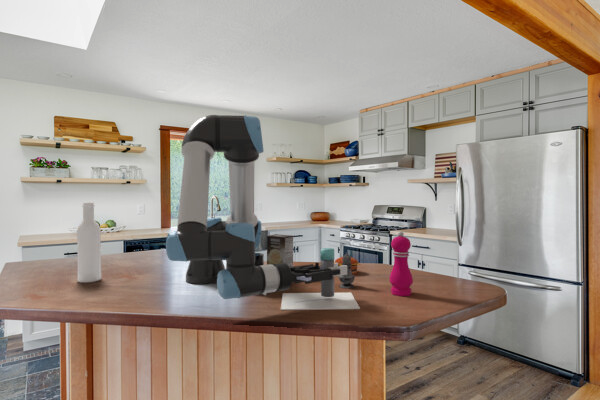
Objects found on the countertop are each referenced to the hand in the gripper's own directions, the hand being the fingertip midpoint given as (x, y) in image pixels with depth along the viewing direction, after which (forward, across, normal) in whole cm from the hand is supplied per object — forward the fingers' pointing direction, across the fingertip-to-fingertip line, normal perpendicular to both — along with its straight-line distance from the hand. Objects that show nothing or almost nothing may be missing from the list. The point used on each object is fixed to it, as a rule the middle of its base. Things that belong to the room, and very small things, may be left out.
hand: (341, 268), depth 111 cm
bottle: (-67, -70, -9) cm, 98 cm away
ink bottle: (-20, -23, -9) cm, 32 cm away
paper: (-8, -1, -9) cm, 12 cm away
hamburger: (+23, -28, -9) cm, 37 cm away
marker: (-5, 0, -8) cm, 9 cm away
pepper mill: (+19, +7, -9) cm, 22 cm away
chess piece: (+10, -10, -9) cm, 17 cm away
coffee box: (-2, -38, -9) cm, 39 cm away
